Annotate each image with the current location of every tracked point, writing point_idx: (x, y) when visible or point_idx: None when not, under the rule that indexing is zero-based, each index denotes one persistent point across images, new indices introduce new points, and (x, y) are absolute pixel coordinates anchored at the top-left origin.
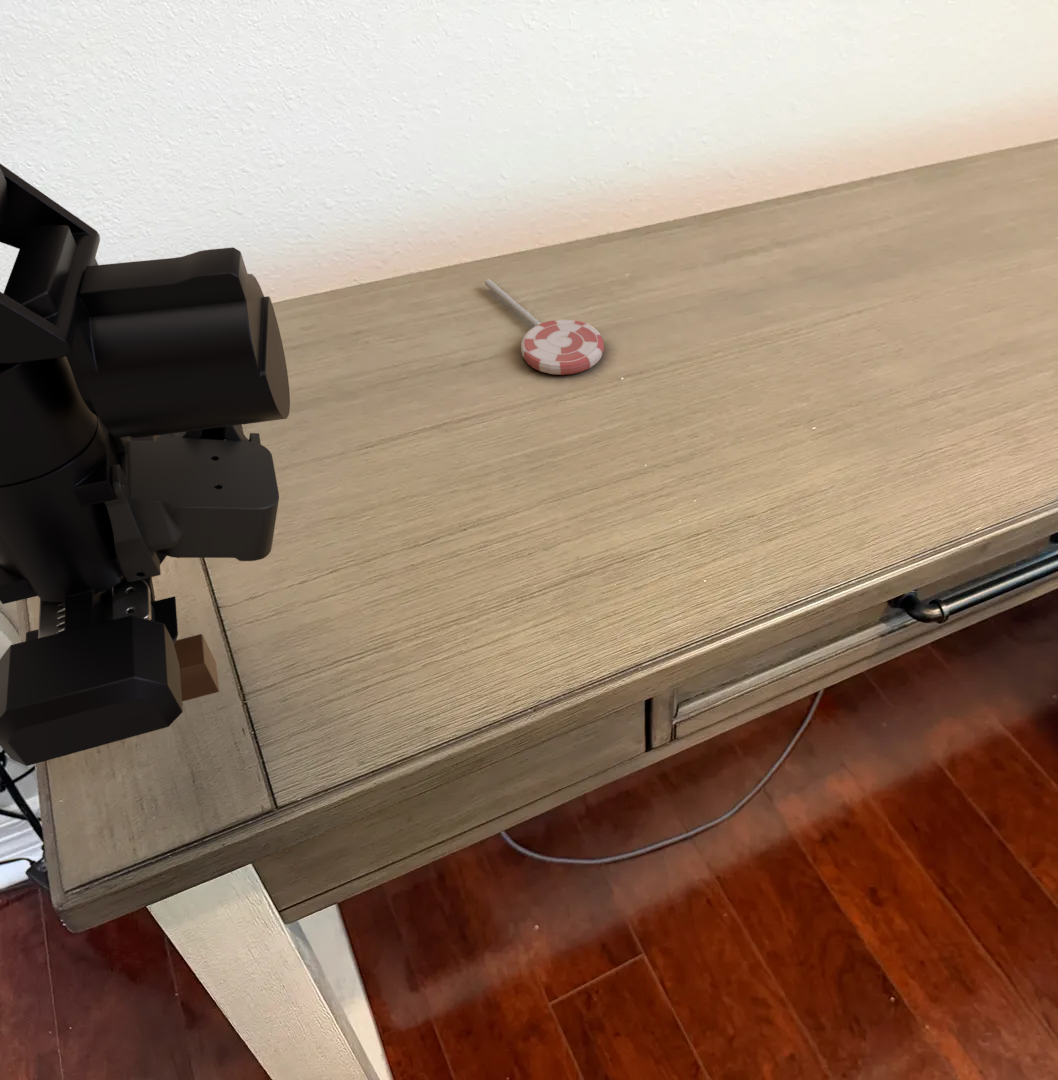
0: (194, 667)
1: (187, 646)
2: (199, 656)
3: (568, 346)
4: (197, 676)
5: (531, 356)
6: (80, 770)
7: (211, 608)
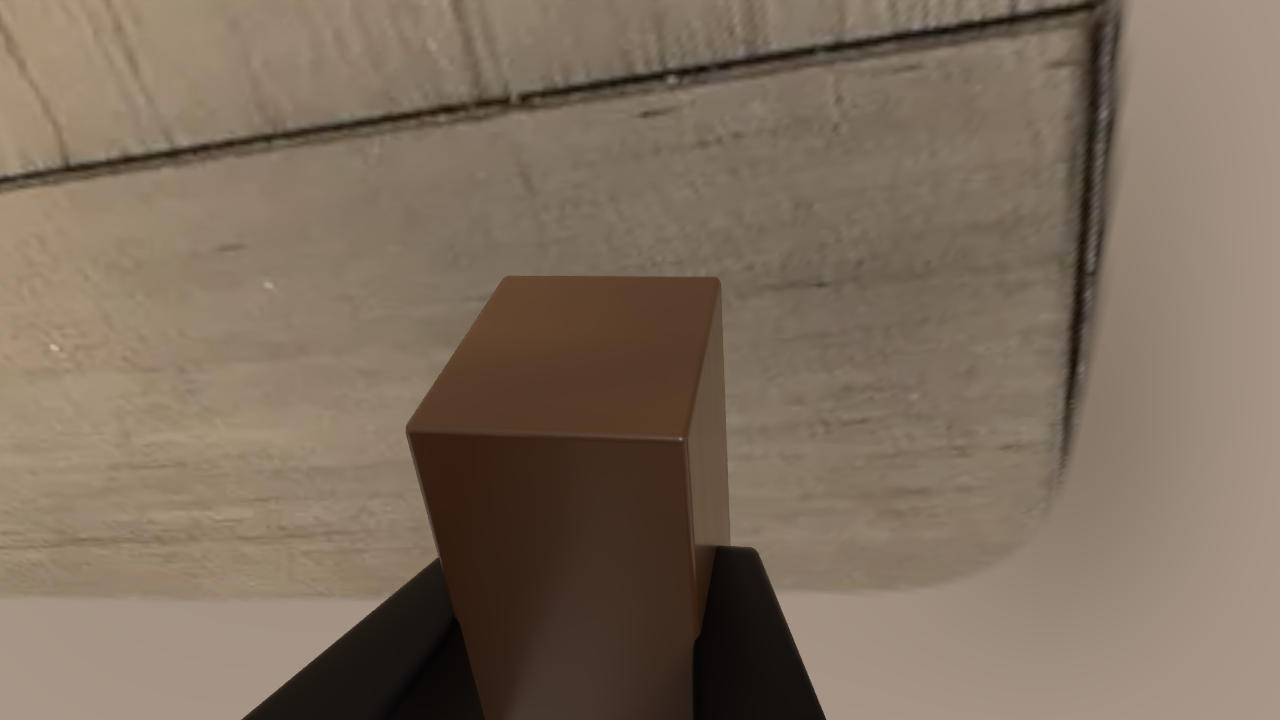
0: (694, 486)
1: (506, 512)
2: (617, 462)
3: None
4: (703, 433)
5: None
6: None
7: (74, 191)
